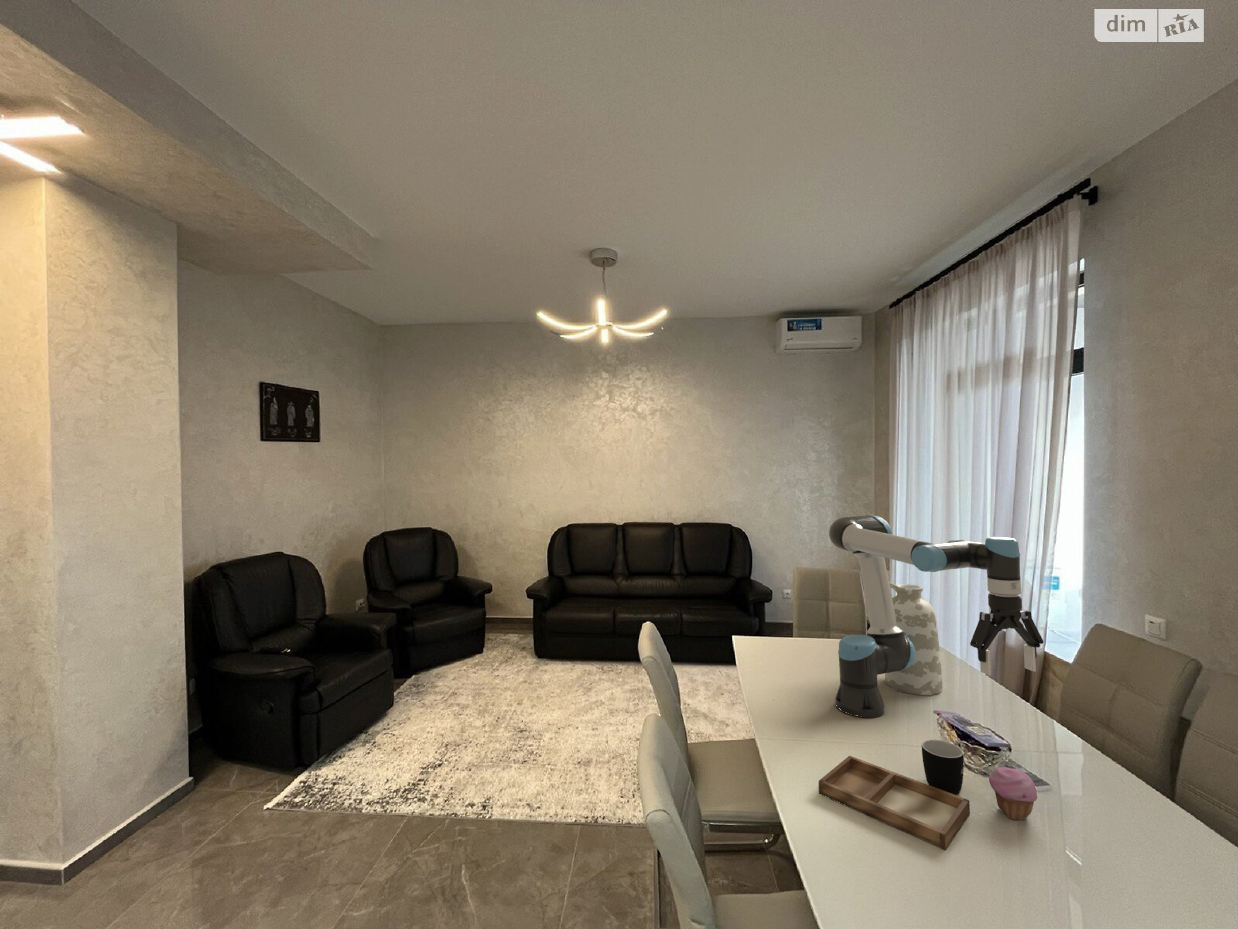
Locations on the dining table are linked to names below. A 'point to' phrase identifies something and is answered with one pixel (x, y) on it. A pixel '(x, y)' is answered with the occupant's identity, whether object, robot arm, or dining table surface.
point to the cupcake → (1013, 792)
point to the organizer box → (897, 800)
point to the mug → (943, 765)
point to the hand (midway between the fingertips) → (1008, 671)
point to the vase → (917, 643)
